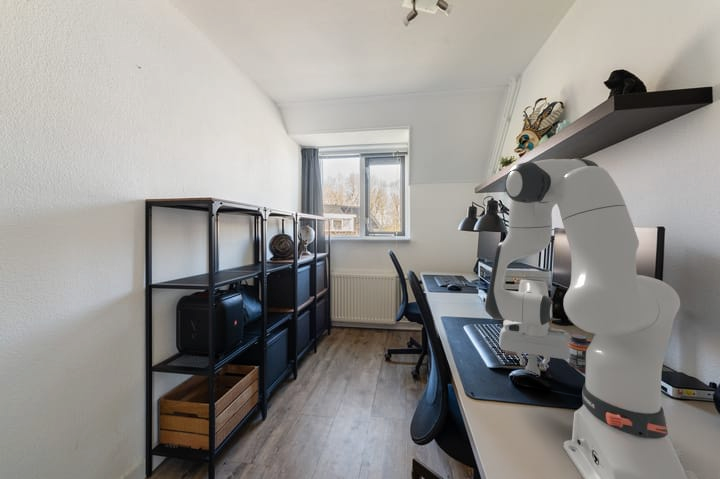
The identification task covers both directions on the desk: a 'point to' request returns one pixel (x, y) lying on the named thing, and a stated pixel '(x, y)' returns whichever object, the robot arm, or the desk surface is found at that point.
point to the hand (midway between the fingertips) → (532, 366)
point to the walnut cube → (510, 352)
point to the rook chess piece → (533, 364)
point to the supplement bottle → (578, 352)
